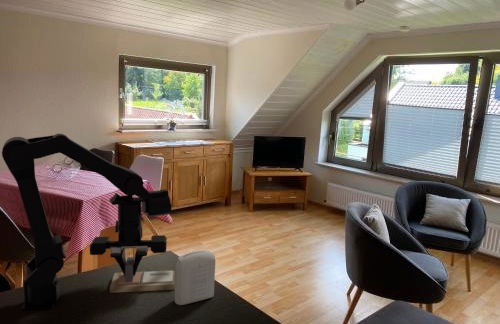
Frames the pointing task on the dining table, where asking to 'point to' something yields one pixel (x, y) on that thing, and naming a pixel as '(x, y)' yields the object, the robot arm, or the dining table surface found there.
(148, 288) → the ticket board
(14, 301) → the dining table surface
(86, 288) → the dining table surface
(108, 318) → the dining table surface
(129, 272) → the stub
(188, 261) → the photo printer
